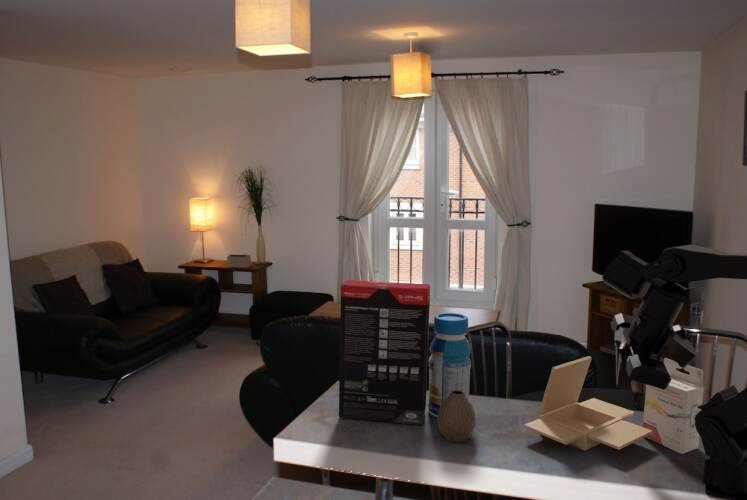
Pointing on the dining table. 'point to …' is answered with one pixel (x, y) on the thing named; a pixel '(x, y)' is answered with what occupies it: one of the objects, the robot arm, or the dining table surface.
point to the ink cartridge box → (675, 409)
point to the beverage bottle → (448, 359)
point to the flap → (564, 385)
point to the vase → (456, 417)
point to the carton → (589, 425)
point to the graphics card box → (384, 351)
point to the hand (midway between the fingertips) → (619, 387)
